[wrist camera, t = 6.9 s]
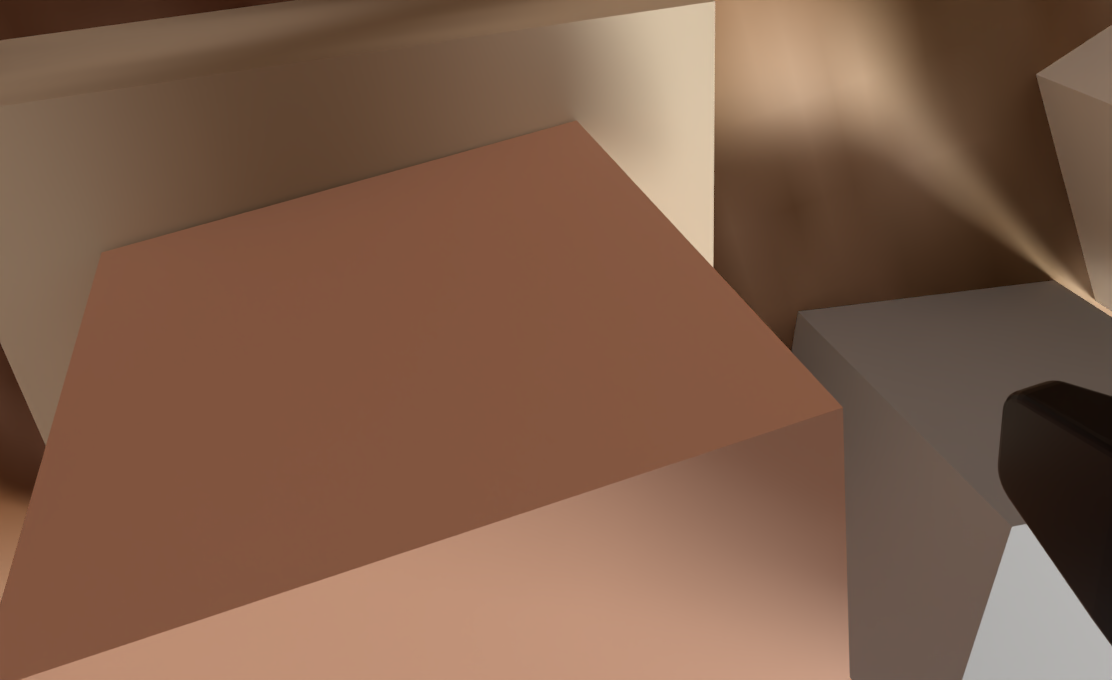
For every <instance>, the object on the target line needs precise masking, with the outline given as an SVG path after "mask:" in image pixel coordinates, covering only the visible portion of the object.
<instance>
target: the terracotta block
mask: <svg viewBox="0 0 1112 680" xmlns="http://www.w3.org/2000/svg"><path fill="white" fill-rule="evenodd" d="M0 680H850V667H849V627H848V588H847V548H846V509H845V469H844V429H843V407H842V406H841V405H840V404H839V403H838V402H837V400H836V399H835V398H834V397H833V396H832V395H831V394H830V393H829V392H828V391H827V390H826V389H825V388H824V386H823V385H822V384H821V383H820V382H819V381H818V380H817V379H816V378H815V377H814V376H813V375H812V374H811V372H810V371H809V370H808V369H807V368H806V367H805V366H804V365H803V364H802V363H801V362H800V361H799V359H798V358H797V357H796V356H795V355H794V354H793V353H792V352H791V351H790V350H789V349H788V348H787V347H786V345H785V344H784V343H783V342H782V341H781V340H780V339H779V338H778V337H777V336H776V335H775V334H774V333H773V331H772V330H771V329H770V328H769V327H768V326H767V325H766V324H765V323H764V322H763V321H762V320H761V319H760V317H759V316H758V315H757V314H756V313H755V312H754V311H753V310H752V309H751V308H750V307H749V306H748V304H747V303H746V302H745V301H744V300H743V299H742V298H741V297H740V296H739V295H738V294H737V293H736V292H735V290H734V289H733V288H732V287H731V286H730V285H729V284H728V283H727V282H726V281H725V280H724V279H723V278H722V276H721V275H720V274H719V273H718V272H717V271H716V270H715V269H714V268H713V267H712V266H711V265H710V264H709V262H708V261H707V260H706V259H705V258H704V257H703V256H702V255H701V254H700V253H699V252H698V251H697V249H696V248H695V247H694V246H693V245H692V244H691V243H690V242H689V241H688V240H687V239H686V238H685V237H684V235H683V234H682V233H681V232H680V231H679V230H678V229H677V228H676V227H675V226H674V225H673V224H672V223H671V221H670V220H669V219H668V218H667V217H666V216H665V215H664V214H663V213H662V212H661V211H660V210H659V208H658V207H657V206H656V205H655V204H654V203H653V202H652V201H651V200H650V199H649V198H648V197H647V196H646V194H645V193H644V192H643V191H642V190H641V189H640V188H639V187H638V186H637V185H636V184H635V183H634V182H633V180H632V179H631V178H630V177H629V176H628V175H627V174H626V173H625V172H624V171H623V170H622V169H621V168H620V166H619V165H618V164H617V163H616V162H615V161H614V160H613V159H612V158H611V157H610V156H609V155H608V153H607V152H606V151H605V150H604V149H603V148H602V147H601V146H600V145H599V144H598V143H597V142H596V141H595V139H594V138H593V137H592V136H591V135H590V134H589V133H588V132H587V131H586V130H585V129H584V128H583V127H582V125H581V124H580V123H579V122H578V121H577V120H576V121H573V122H569V123H566V124H562V125H558V126H555V127H551V128H548V129H544V130H540V131H537V132H533V133H530V134H526V135H522V136H519V137H515V138H512V139H508V140H504V141H501V142H497V143H494V144H490V145H486V146H483V147H479V148H476V149H472V150H468V151H465V152H461V153H458V154H454V155H450V156H447V157H443V158H440V159H436V160H432V161H429V162H425V163H422V164H418V165H414V166H411V167H407V168H404V169H400V170H396V171H393V172H389V173H386V174H382V175H378V176H375V177H371V178H368V179H364V180H361V181H357V182H353V183H350V184H346V185H343V186H339V187H335V188H332V189H328V190H325V191H321V192H317V193H314V194H310V195H307V196H303V197H299V198H296V199H292V200H289V201H285V202H281V203H278V204H274V205H271V206H267V207H263V208H260V209H256V210H253V211H249V212H245V213H242V214H238V215H235V216H231V217H227V218H224V219H220V220H217V221H213V222H209V223H206V224H202V225H199V226H195V227H191V228H188V229H184V230H181V231H177V232H173V233H170V234H166V235H163V236H159V237H156V238H152V239H148V240H145V241H141V242H138V243H134V244H130V245H127V246H123V247H120V248H116V249H112V250H109V251H105V252H102V253H101V256H100V259H99V263H98V266H97V270H96V273H95V277H94V280H93V283H92V287H91V290H90V294H89V297H88V301H87V304H86V308H85V311H84V315H83V318H82V322H81V325H80V329H79V332H78V336H77V339H76V343H75V346H74V350H73V353H72V357H71V360H70V364H69V367H68V370H67V374H66V377H65V381H64V384H63V388H62V391H61V395H60V398H59V402H58V405H57V409H56V412H55V416H54V419H53V423H52V426H51V430H50V433H49V437H48V440H47V444H46V447H45V451H44V454H43V458H42V461H41V464H40V468H39V471H38V475H37V478H36V482H35V485H34V489H33V492H32V496H31V499H30V503H29V506H28V510H27V513H26V517H25V520H24V524H23V527H22V531H21V534H20V538H19V541H18V545H17V548H16V552H15V555H14V558H13V562H12V565H11V569H10V572H9V576H8V579H7V583H6V586H5V590H4V593H3V597H2V600H1V604H0Z"/></svg>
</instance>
